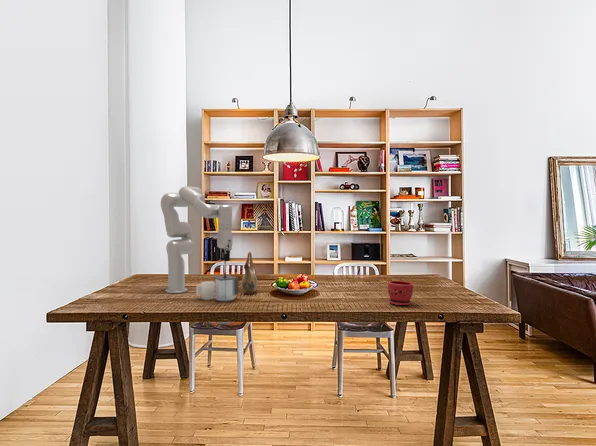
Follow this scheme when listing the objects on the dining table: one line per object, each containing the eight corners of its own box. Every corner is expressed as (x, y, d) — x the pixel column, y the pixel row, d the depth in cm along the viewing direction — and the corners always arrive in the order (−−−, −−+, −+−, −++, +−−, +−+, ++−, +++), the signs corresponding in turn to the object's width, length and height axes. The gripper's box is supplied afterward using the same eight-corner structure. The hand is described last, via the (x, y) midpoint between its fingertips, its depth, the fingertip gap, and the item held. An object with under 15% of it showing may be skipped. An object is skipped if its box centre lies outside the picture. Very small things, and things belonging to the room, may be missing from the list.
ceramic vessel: (253, 296, 232) (253, 253, 231) (238, 295, 233) (238, 253, 232) (260, 290, 248) (260, 250, 247) (246, 290, 249) (246, 250, 248)
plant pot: (408, 308, 206) (409, 285, 206) (384, 305, 213) (384, 282, 213) (415, 303, 217) (416, 281, 217) (392, 300, 224) (392, 279, 224)
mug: (194, 298, 226) (194, 282, 226) (211, 296, 232) (211, 280, 232) (199, 300, 220) (199, 284, 219) (216, 298, 226) (216, 282, 225)
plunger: (217, 281, 222) (217, 252, 222) (227, 280, 226) (227, 251, 226) (222, 283, 217) (222, 253, 216) (233, 282, 221) (233, 252, 220)
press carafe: (213, 299, 223) (213, 276, 223) (233, 296, 231) (233, 274, 230) (220, 302, 215) (220, 279, 215) (241, 299, 223) (241, 277, 222)
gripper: (212, 226, 225) (212, 259, 226) (225, 228, 212) (225, 262, 212) (224, 226, 230) (224, 258, 230) (238, 227, 216) (238, 261, 217)
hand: (225, 260), depth 221 cm, fingers closed on plunger, 3 cm apart
